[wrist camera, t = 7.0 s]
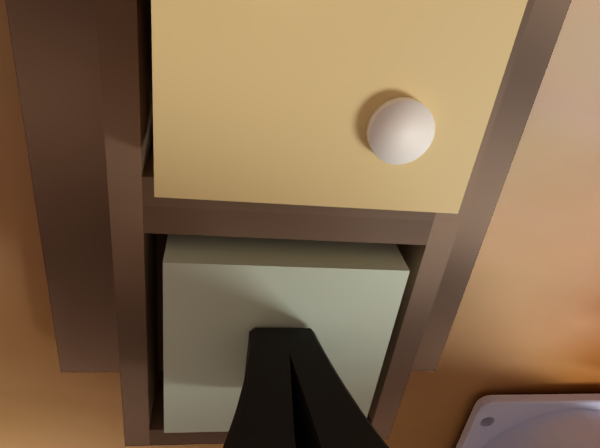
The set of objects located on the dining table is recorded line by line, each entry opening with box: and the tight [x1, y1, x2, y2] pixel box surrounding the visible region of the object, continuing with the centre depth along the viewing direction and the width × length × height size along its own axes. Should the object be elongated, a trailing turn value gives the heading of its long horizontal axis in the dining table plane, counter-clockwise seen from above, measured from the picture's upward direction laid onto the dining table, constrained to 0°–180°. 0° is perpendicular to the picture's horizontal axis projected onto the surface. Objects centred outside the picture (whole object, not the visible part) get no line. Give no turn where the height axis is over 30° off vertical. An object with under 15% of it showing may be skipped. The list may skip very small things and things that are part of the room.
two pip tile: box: [151, 0, 528, 214], centre depth 8 cm, size 5×5×2 cm
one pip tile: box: [163, 234, 410, 433], centre depth 12 cm, size 5×5×2 cm
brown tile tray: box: [5, 0, 571, 446], centre depth 9 cm, size 21×11×3 cm, turn 172°
